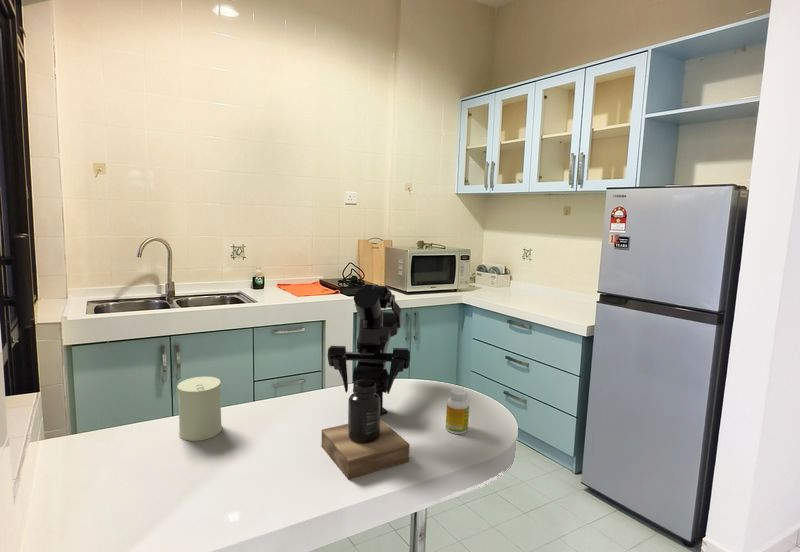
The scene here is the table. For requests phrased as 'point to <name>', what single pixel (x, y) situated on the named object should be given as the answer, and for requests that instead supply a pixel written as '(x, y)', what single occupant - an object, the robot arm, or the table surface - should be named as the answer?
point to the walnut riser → (364, 450)
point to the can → (199, 408)
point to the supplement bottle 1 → (364, 412)
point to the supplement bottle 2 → (457, 411)
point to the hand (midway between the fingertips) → (367, 392)
